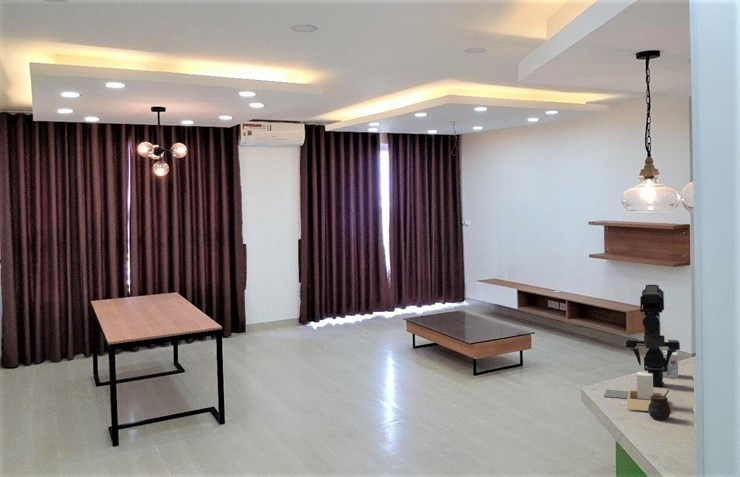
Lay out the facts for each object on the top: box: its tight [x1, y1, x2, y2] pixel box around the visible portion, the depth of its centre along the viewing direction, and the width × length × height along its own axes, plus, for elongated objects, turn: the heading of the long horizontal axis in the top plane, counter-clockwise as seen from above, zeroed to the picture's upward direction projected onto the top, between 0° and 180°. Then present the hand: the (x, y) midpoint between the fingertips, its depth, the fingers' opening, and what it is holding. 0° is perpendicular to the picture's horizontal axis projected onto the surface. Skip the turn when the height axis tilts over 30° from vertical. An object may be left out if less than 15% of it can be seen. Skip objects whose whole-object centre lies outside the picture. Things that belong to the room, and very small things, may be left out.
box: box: [636, 371, 654, 400], centre depth 234 cm, size 4×6×12 cm
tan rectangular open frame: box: [626, 389, 664, 412], centre depth 235 cm, size 19×12×4 cm, turn 154°
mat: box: [603, 389, 629, 400], centre depth 249 cm, size 10×9×1 cm
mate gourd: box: [647, 389, 672, 421], centre depth 219 cm, size 7×8×10 cm
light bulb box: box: [662, 350, 679, 379], centre depth 275 cm, size 11×7×11 cm, turn 62°
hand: (653, 366), depth 235 cm, fingers open, 9 cm apart
